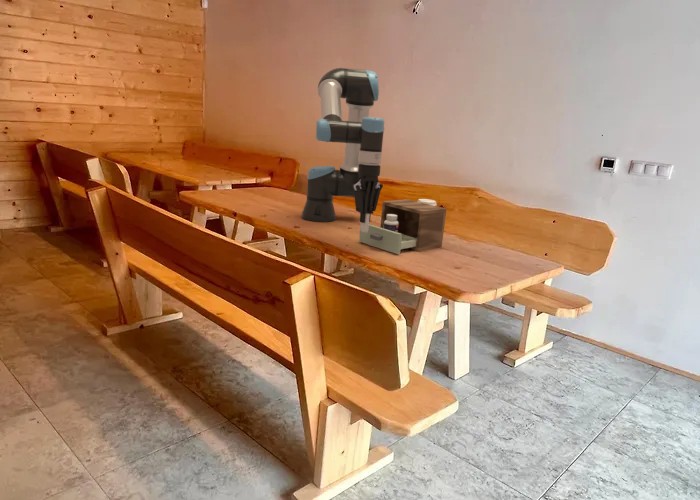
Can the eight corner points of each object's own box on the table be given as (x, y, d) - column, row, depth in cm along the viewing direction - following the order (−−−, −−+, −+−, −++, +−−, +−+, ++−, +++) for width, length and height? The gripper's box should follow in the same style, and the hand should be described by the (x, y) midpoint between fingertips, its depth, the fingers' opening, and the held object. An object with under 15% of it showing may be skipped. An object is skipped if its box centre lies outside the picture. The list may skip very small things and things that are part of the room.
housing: (379, 239, 205) (382, 201, 201) (402, 235, 215) (406, 199, 211) (418, 251, 191) (422, 211, 187) (441, 246, 201) (446, 208, 197)
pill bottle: (397, 242, 192) (400, 217, 189) (383, 241, 192) (385, 216, 189) (395, 239, 197) (398, 214, 195) (381, 238, 197) (384, 213, 194)
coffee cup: (417, 238, 211) (421, 202, 207) (410, 233, 219) (413, 198, 215) (436, 238, 213) (441, 202, 209) (428, 233, 221) (432, 198, 217)
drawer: (354, 242, 196) (356, 223, 194) (384, 237, 207) (385, 219, 205) (392, 255, 182) (394, 235, 180) (422, 249, 193) (424, 230, 191)
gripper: (363, 165, 171) (358, 235, 176) (390, 165, 179) (384, 232, 185) (348, 162, 176) (343, 231, 182) (375, 162, 185) (369, 227, 190)
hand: (364, 231), depth 183 cm, fingers closed
